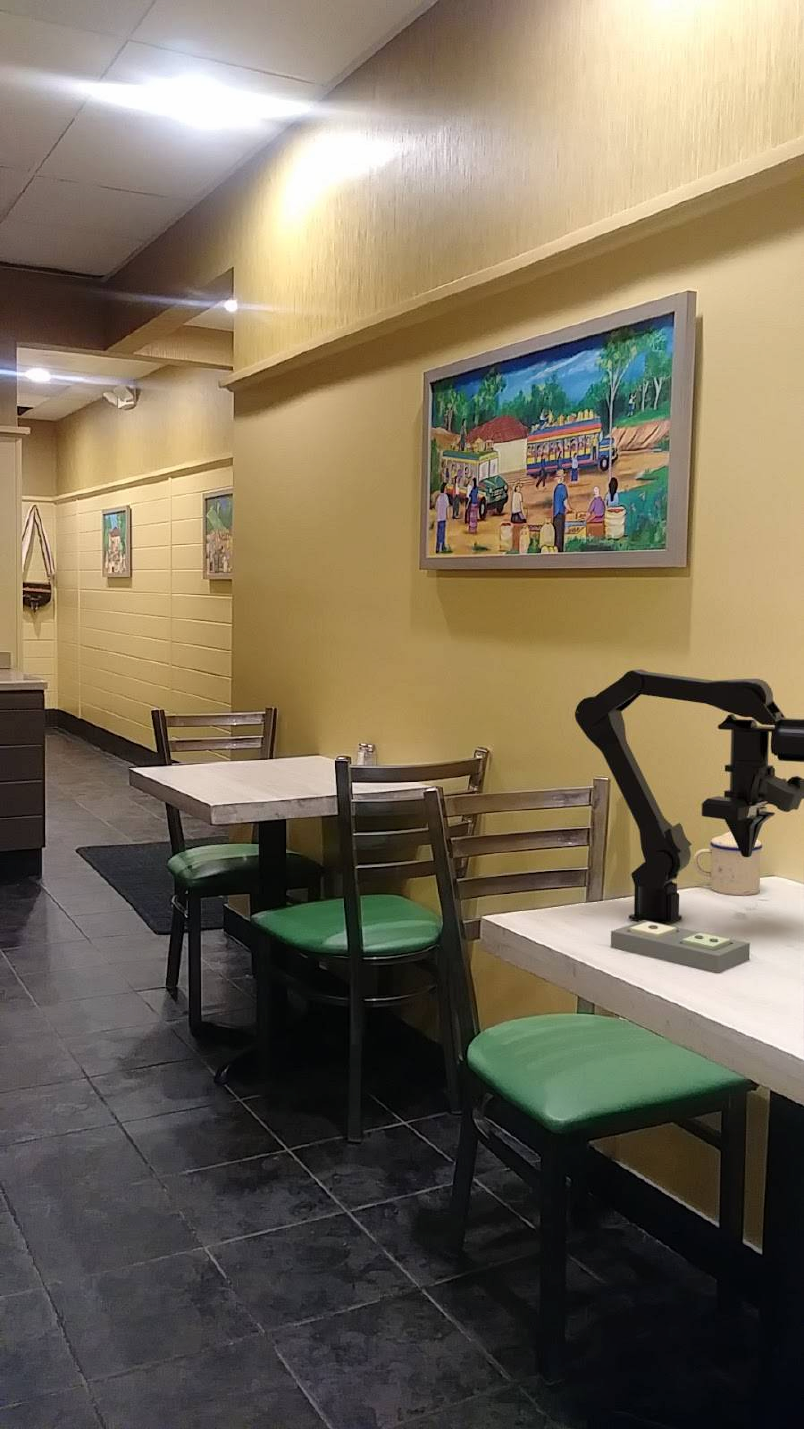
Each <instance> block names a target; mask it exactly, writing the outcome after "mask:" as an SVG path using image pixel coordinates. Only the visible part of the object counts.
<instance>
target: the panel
mask: <svg viewBox="0 0 804 1429" xmlns="http://www.w3.org/2000/svg"><path fill="white" fill-rule="evenodd" d="M645 922H652V921H647V920H642V921H636V922H635V923H634V922H633V923H631V924H628V925H625V926H623V927H619V928H616V929H612V930H610V948H612V949H617V950H620V951H625V952H629V953H632V954H637V955H642V956H645V957H650V958H654V959H658V960H661V961H666V962H668V963H669V962H671V963H674V964H679V965H682V966H688V967H691V968H695V969H699V970H703V971H707V972H712V973H715V974H720V973H722V972H724V971H726V970H729V969H731V968H733V967H736V966H738V965H740V964H742V963H745V962H747V961H750V948H751V947H750V945H751V944H750V942H747V941H742V940H739V939H733V938H730V937H729V938H728V937H724V936H720V935H715V934H709V933H705V932H701V931H697V930H692V929H687V928H684V927H678V926H673V925H670V924H661V923H657V924H661V925H666V926H670V927H675V928H676V933H673V934H671V935H668V936H665V937H662V938H660V939H658V938H654V937H650V936H645V935H641V934H637V933H632V932H630V928H631V927H634V926H637V925H640V924H643V923H645ZM652 923H656V922H652ZM698 933H704V934H708V935H713V936H717V937H722V938H726V939H731V940H730V945H728V946H726V947H723V948H721V949H718V950H716V951H711V950H706V949H702V948H698V947H693V946H689V945H685V944H682V939H685V938H687V937H690V936H693V935H695V934H698Z"/></svg>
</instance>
